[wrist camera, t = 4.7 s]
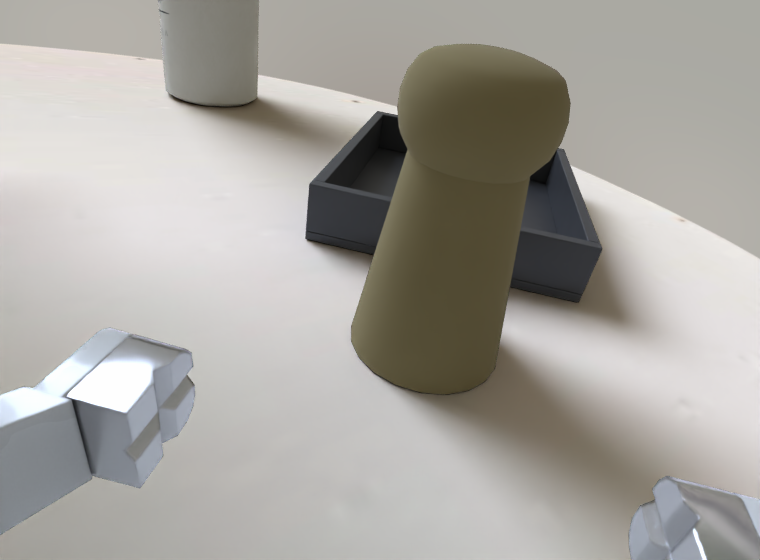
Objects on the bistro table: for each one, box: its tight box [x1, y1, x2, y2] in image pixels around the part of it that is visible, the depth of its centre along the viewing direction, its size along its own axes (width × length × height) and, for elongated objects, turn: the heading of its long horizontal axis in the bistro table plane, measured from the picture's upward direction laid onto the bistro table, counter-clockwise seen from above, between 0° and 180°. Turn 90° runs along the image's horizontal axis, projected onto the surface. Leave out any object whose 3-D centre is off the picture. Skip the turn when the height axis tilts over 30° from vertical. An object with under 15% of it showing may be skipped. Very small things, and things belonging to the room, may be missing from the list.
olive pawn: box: [351, 44, 570, 394], centre depth 17 cm, size 6×6×11 cm
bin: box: [305, 111, 602, 302], centre depth 31 cm, size 16×14×3 cm
